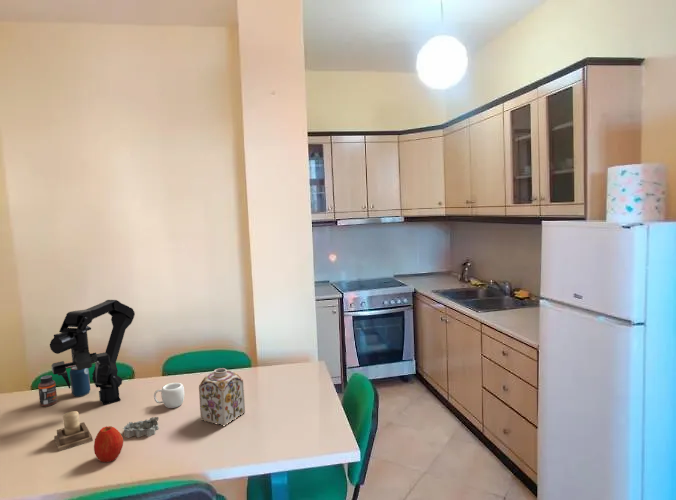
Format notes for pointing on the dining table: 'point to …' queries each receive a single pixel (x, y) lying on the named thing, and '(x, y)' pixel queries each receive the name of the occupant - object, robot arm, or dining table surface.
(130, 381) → the dining table surface
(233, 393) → the decorative jar
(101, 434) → the apple
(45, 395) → the supplement bottle
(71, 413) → the wooden dowel
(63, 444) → the walnut socket holder
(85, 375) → the soda can
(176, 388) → the mug
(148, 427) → the egg carton
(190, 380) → the dining table surface
